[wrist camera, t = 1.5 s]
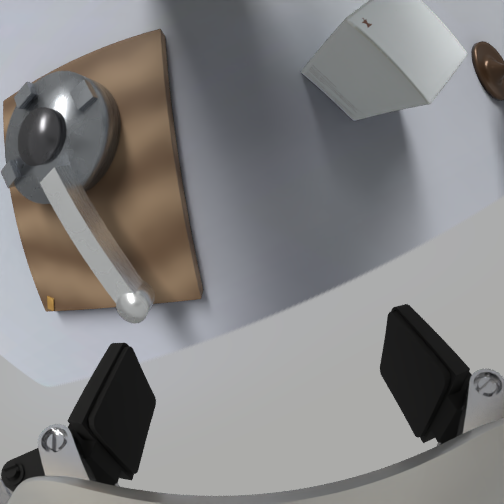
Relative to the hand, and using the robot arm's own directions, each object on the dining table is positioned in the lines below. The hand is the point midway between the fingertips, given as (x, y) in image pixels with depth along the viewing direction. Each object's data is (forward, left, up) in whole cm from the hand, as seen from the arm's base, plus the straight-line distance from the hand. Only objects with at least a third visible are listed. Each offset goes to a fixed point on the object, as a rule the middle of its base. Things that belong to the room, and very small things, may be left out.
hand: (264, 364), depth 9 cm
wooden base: (-7, -16, -19) cm, 26 cm away
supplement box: (-14, +12, -20) cm, 27 cm away
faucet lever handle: (-7, -14, -17) cm, 23 cm away
